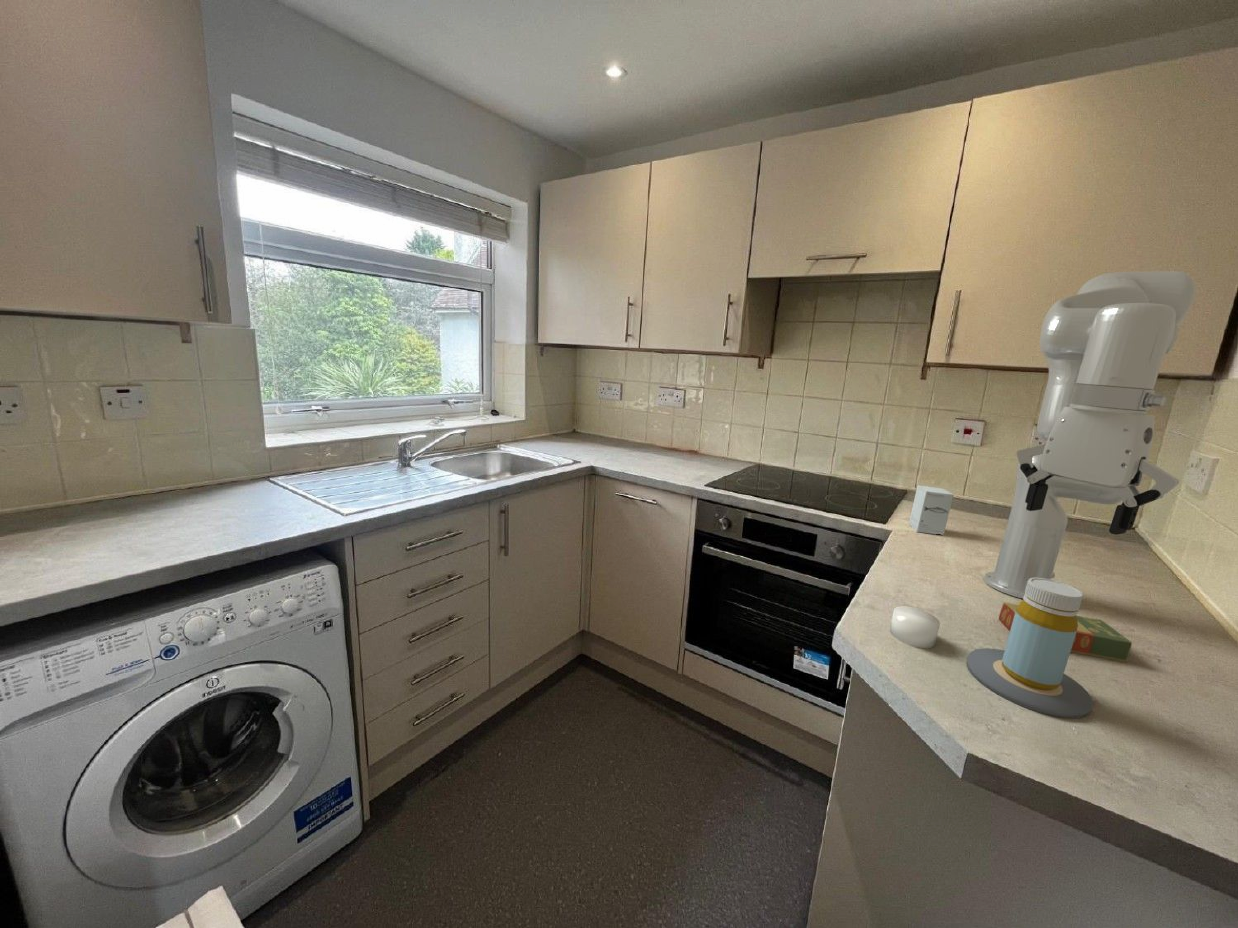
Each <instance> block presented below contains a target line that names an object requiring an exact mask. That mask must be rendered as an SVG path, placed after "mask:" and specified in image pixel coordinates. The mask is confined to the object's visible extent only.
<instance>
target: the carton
mask: <svg viewBox="0 0 1238 928" xmlns="http://www.w3.org/2000/svg"><path fill="white" fill-rule="evenodd" d="M1018 605H1019V604H1016V603H1011V602H1010V603H1009V602H1005V601H1004V602H1003V603H1002V607H1001V609H1000V612H999V615H998V620H999V622H1000V623H1001V624H1002V625H1003V626H1004V627H1005V628H1006V629H1007V630H1008V631H1009V632H1010V630H1011V626H1012V623H1013V619H1014V615H1015V612H1016V609H1017V606H1018ZM1076 617H1077V623H1078V627H1077V632H1076V635H1075V638H1074V642H1073V645H1072V648H1071V651H1070V653H1071V652H1072V653H1076V654H1077V653H1078V654H1082V655H1083V654H1084V655H1087V656H1092V657H1098V658H1102V659H1107V660H1113V661H1118V662H1123V663H1127V662H1128V660H1129V658H1130V655H1131V650H1132V645H1133V644H1132V641H1131V640H1129V639H1128V638H1127V637H1125V636H1124V635H1122V634H1121V633H1119V631H1117V630H1115V628H1113V627H1112V626H1111V625H1109V624H1107V623H1106V622H1105V621H1103V620H1102V619H1098V618H1093V617H1086V616H1082V615H1078V614H1077V615H1076Z"/></svg>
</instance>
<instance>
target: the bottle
mask: <svg viewBox="0 0 1238 928" xmlns="http://www.w3.org/2000/svg"><path fill="white" fill-rule="evenodd" d="M1083 595H1084V594H1083V592H1082V591H1080V589H1078V588H1075V586H1074V587H1073V586H1071V585H1070V584H1067V583H1064V582H1061V581H1056V580H1054V579H1051V580H1050V579H1045V578H1030V579H1029V580H1028V582H1027V586H1026V589H1025V594H1024V597H1023V599H1022V600H1021V601H1020V602H1019V603H1018V604H1017V605H1018V606H1017V609H1016V612H1015V615H1014V619H1013V623H1012V626H1011V630H1010V631H1009V635H1008V638H1007V641H1006V645H1005V649H1004V651H1005V652H1004V655H1003V660H1002V666H1003V668H1004V670H1005V671H1006V673H1007V674H1008V675H1009V676H1010V677H1012V678H1013V679H1015V680H1016V681H1018V682H1020V683H1022V684H1024V685H1027V686H1030V687H1032V688H1036V689H1040V690H1052V689H1055V688H1058V687H1059V686H1060V683H1061V681H1062V677H1063V674H1065V671H1066V667H1067V664H1068V660H1069V657H1070V653H1071V648H1072V645H1073V642H1074V638H1075V635H1076V632H1077V627H1078V623H1077V617H1076V615H1077V616H1078V612H1079V609H1080V607H1081V605H1082V602H1083V597H1084V596H1083Z"/></svg>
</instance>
